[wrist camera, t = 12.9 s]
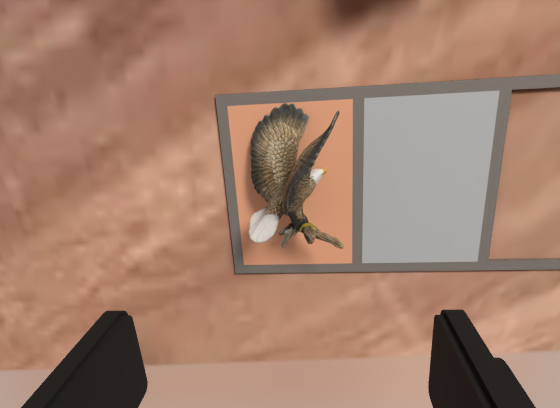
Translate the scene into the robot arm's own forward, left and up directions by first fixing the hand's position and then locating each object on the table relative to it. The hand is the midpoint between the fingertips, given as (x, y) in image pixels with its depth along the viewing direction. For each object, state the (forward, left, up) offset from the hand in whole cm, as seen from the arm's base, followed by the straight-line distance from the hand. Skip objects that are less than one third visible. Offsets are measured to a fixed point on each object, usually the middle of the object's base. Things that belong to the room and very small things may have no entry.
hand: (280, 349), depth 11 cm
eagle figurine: (0, -1, -18) cm, 18 cm away
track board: (-9, +1, -18) cm, 21 cm away
